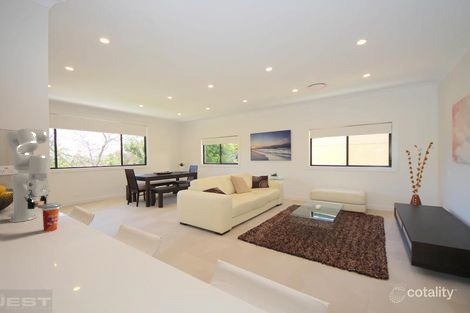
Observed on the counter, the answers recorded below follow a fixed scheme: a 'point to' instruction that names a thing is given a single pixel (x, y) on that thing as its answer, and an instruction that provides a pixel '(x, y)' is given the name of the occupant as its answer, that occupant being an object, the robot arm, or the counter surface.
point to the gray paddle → (49, 205)
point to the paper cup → (50, 218)
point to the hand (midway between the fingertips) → (37, 206)
